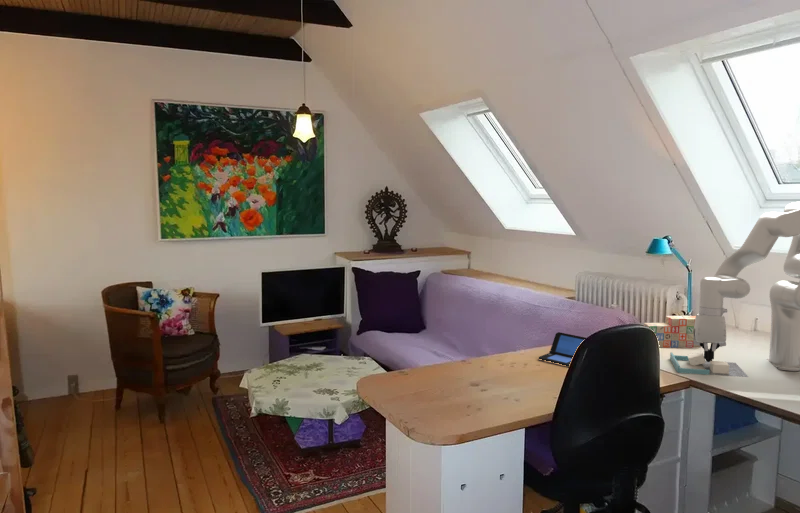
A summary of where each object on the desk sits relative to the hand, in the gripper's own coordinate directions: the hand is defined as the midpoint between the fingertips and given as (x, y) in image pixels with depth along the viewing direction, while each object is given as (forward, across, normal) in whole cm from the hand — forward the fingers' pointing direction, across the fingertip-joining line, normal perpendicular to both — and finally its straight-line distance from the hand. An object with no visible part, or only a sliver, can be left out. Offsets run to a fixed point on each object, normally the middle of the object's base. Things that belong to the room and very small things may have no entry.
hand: (708, 360), depth 213 cm
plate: (+3, -4, +4) cm, 6 cm away
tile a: (+1, +3, 0) cm, 4 cm away
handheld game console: (+4, +51, 0) cm, 51 cm away
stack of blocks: (+3, +7, -31) cm, 32 cm away
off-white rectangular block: (+1, -2, +8) cm, 8 cm away
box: (+3, +7, +4) cm, 9 cm away
